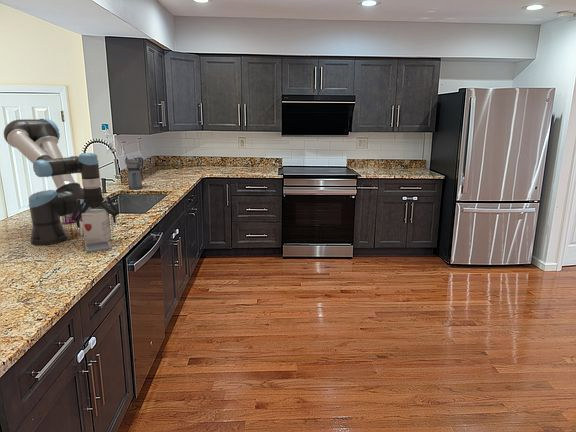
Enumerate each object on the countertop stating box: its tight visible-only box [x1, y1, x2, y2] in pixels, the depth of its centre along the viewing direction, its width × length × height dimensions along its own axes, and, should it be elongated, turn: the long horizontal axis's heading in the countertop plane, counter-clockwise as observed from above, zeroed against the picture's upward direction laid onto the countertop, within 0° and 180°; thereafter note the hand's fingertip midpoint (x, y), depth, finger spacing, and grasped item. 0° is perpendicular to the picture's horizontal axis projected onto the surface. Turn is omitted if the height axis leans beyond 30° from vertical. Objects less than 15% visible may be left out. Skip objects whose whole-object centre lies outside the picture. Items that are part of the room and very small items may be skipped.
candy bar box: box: [60, 213, 82, 225], centre depth 228 cm, size 11×5×16 cm, turn 141°
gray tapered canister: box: [124, 156, 144, 191], centre depth 320 cm, size 10×13×25 cm
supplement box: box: [81, 208, 112, 245], centre depth 193 cm, size 9×9×15 cm
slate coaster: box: [84, 240, 113, 254], centre depth 185 cm, size 10×10×2 cm
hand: (97, 231), depth 194 cm, fingers open, 13 cm apart
